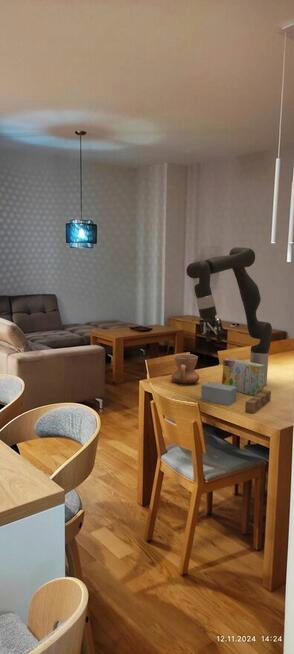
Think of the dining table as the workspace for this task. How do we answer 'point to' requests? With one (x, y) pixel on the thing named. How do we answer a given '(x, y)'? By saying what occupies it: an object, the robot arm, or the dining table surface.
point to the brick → (218, 393)
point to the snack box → (243, 376)
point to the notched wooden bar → (257, 401)
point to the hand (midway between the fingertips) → (214, 341)
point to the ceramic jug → (185, 369)
